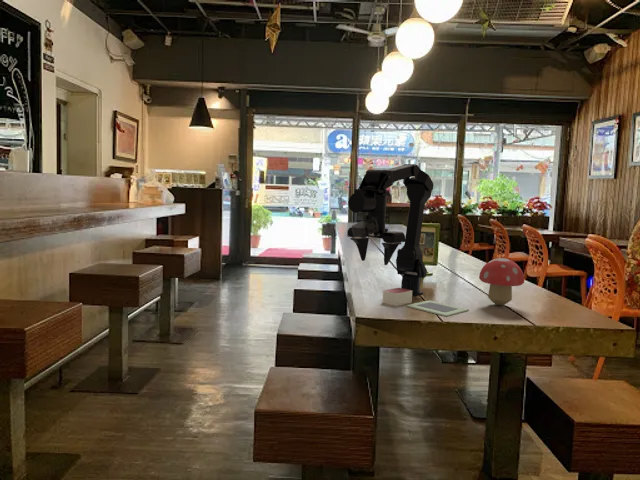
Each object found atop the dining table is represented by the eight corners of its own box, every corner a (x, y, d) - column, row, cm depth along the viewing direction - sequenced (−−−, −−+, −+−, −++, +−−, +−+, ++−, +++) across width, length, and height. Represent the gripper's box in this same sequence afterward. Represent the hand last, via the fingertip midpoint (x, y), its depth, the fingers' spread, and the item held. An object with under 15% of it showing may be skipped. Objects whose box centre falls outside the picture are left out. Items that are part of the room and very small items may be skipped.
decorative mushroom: (475, 307, 154) (479, 258, 152) (478, 298, 166) (482, 254, 164) (522, 312, 149) (526, 263, 147) (521, 303, 161) (525, 257, 160)
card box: (398, 299, 160) (399, 287, 160) (411, 303, 156) (412, 290, 156) (382, 303, 154) (383, 290, 154) (395, 306, 151) (396, 293, 150)
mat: (429, 301, 159) (429, 299, 159) (468, 310, 148) (468, 308, 148) (406, 306, 150) (406, 304, 150) (446, 316, 140) (446, 314, 140)
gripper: (335, 210, 151) (333, 261, 153) (382, 214, 137) (380, 270, 139) (360, 209, 158) (358, 257, 160) (407, 213, 145) (405, 266, 147)
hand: (374, 262), depth 151 cm, fingers open, 9 cm apart
